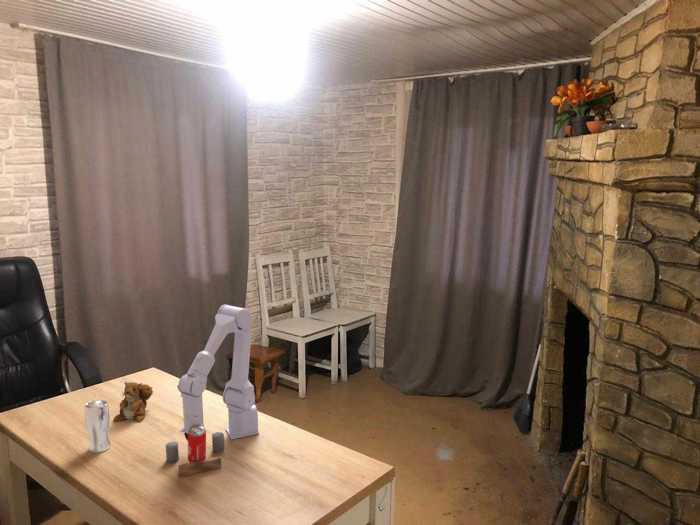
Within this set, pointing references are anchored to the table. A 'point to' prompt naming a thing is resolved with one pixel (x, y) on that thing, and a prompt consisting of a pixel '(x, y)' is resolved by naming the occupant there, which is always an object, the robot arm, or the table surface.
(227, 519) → the table surface
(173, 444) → the bollard
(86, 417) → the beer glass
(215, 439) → the bollard
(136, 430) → the table surface
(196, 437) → the beverage can
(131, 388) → the stuffed squirrel
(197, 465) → the walnut rail
